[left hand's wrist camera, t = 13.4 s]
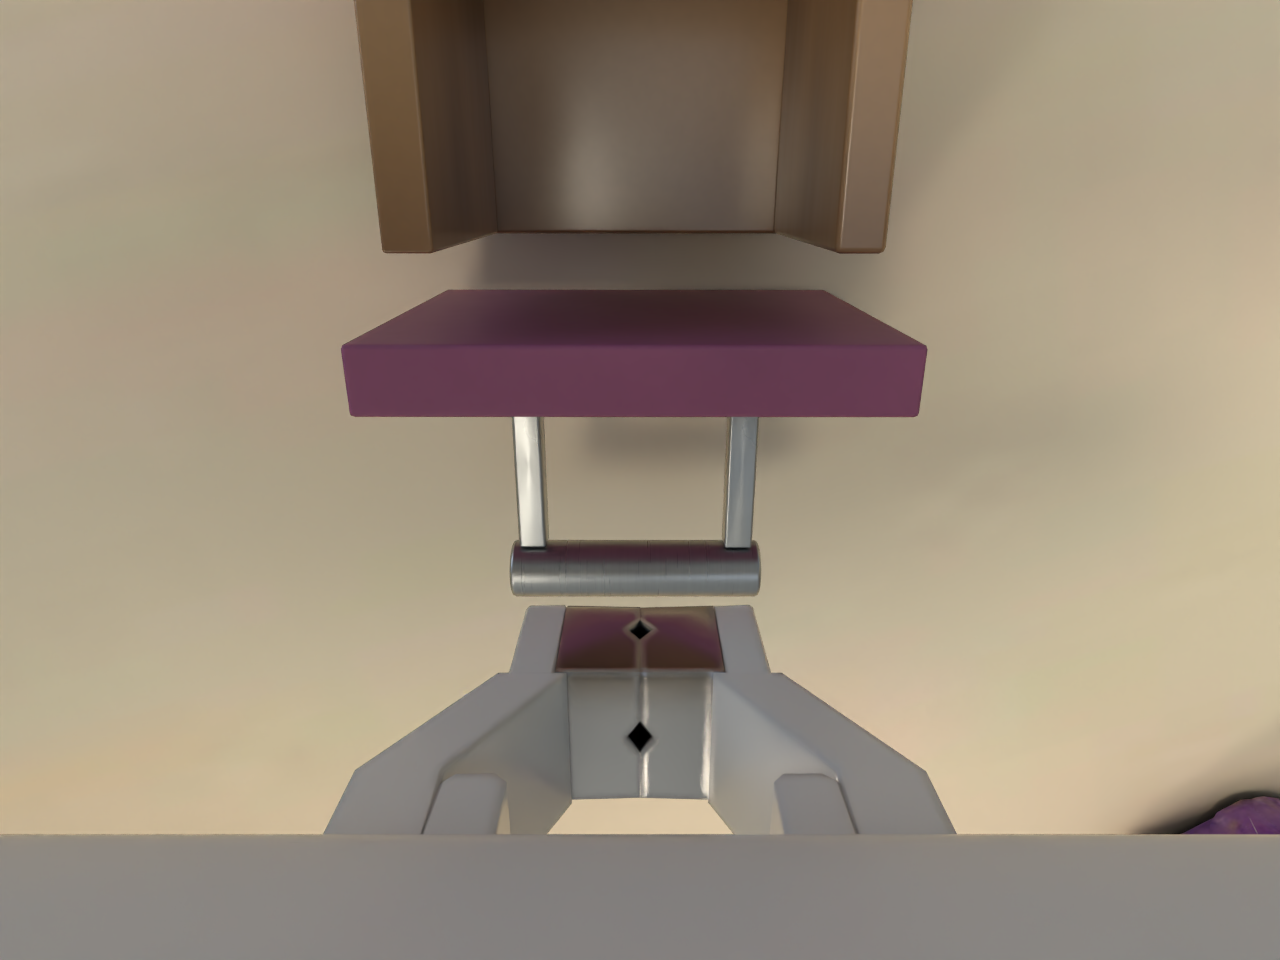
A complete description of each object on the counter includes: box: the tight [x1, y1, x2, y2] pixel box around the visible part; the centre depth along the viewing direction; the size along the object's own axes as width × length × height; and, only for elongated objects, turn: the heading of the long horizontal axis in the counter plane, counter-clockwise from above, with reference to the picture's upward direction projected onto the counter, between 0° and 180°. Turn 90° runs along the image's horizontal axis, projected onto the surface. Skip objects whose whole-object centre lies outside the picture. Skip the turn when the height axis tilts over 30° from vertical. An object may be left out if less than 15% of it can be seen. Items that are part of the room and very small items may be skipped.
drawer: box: [341, 0, 927, 596], centre depth 14 cm, size 23×9×7 cm, turn 0°
